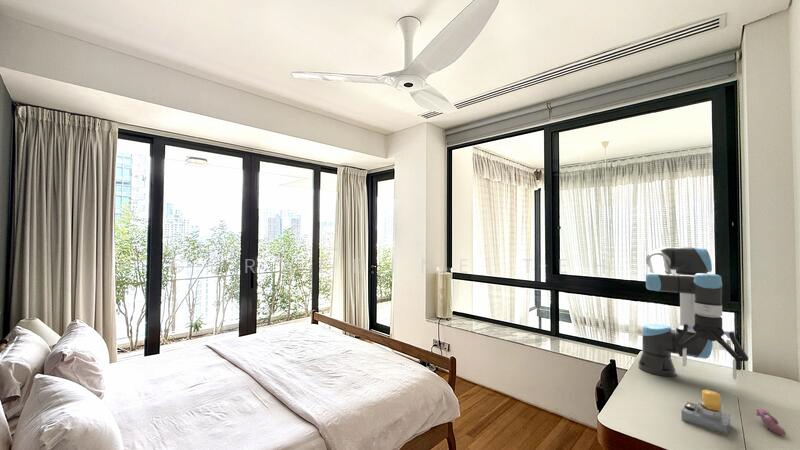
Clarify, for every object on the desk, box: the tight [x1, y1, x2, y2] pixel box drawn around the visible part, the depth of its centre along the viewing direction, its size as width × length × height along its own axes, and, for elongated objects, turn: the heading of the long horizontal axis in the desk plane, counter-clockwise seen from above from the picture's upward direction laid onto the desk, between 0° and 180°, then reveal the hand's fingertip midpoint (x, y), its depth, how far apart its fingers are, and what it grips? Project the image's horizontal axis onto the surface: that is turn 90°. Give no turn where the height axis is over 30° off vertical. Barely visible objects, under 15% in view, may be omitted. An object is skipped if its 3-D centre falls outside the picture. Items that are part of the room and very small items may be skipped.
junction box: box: [681, 401, 731, 436], centre depth 119 cm, size 12×11×6 cm
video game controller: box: [755, 408, 786, 436], centre depth 117 cm, size 10×5×7 cm, turn 141°
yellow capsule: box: [701, 389, 722, 411], centre depth 118 cm, size 5×5×8 cm
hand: (708, 371), depth 119 cm, fingers open, 13 cm apart
